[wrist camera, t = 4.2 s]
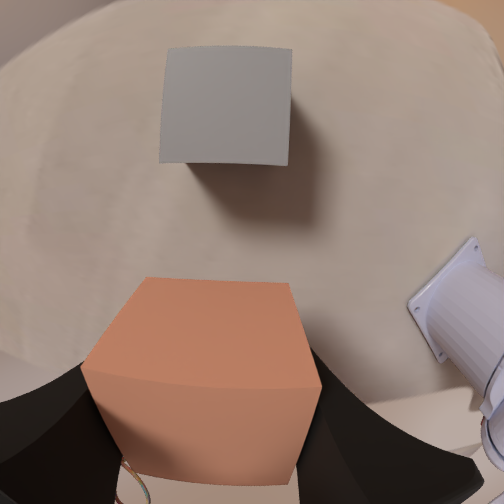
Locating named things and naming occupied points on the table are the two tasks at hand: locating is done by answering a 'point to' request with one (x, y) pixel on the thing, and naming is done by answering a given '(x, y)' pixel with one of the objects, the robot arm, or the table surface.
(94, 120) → the table surface
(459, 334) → the robot arm
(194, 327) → the terracotta block
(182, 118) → the slate block
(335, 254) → the table surface
